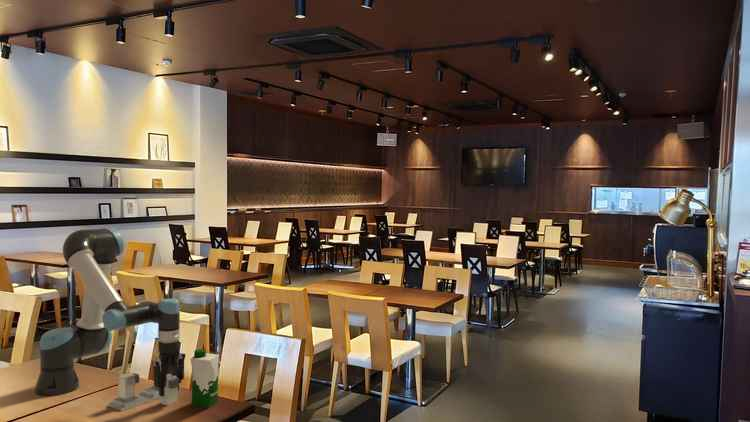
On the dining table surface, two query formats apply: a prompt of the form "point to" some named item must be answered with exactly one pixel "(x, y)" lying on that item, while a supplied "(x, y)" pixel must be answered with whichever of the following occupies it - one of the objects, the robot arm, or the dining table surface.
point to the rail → (138, 399)
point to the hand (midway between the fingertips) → (169, 401)
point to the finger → (171, 388)
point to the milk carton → (204, 378)
